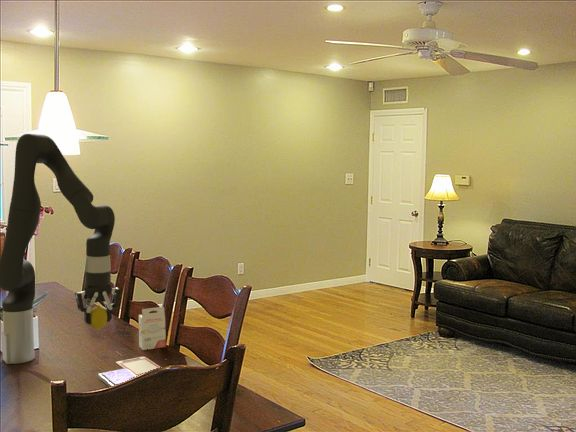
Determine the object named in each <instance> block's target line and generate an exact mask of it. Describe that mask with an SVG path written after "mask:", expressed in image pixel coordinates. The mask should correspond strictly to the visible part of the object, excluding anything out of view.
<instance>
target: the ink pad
mask: <svg viewBox="0 0 576 432" xmlns="http://www.w3.org/2000/svg"><path fill="white" fill-rule="evenodd" d="M133 377H136V375H135V374H133V373H132V372H131V371H129V370H128V369H127V368H126V369H125V368H124V369H123V368H120V369H116V370H115V369H114V370H109V371H105V372H101V373H98V379H99V380H100V381H102V382H103V383H104V384H105V385H106V386H107V387H109V388H110V387H111V386H114V385H117V384H120V383H122V382H125V381H127V380H129V379H131V378H133Z"/></svg>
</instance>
